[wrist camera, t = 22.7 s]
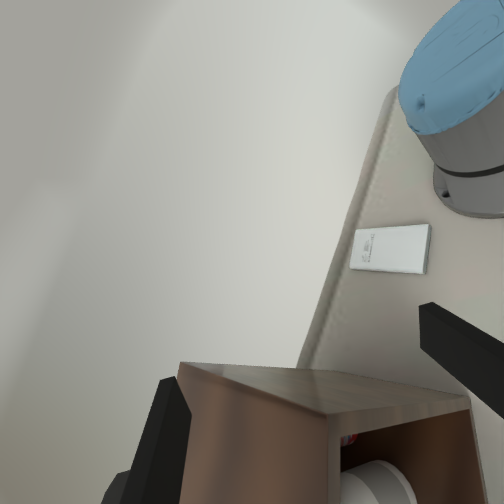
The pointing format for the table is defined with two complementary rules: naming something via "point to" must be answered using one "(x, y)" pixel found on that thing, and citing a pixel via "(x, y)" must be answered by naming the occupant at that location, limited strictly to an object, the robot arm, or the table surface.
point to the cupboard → (320, 436)
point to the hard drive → (392, 249)
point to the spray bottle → (375, 485)
